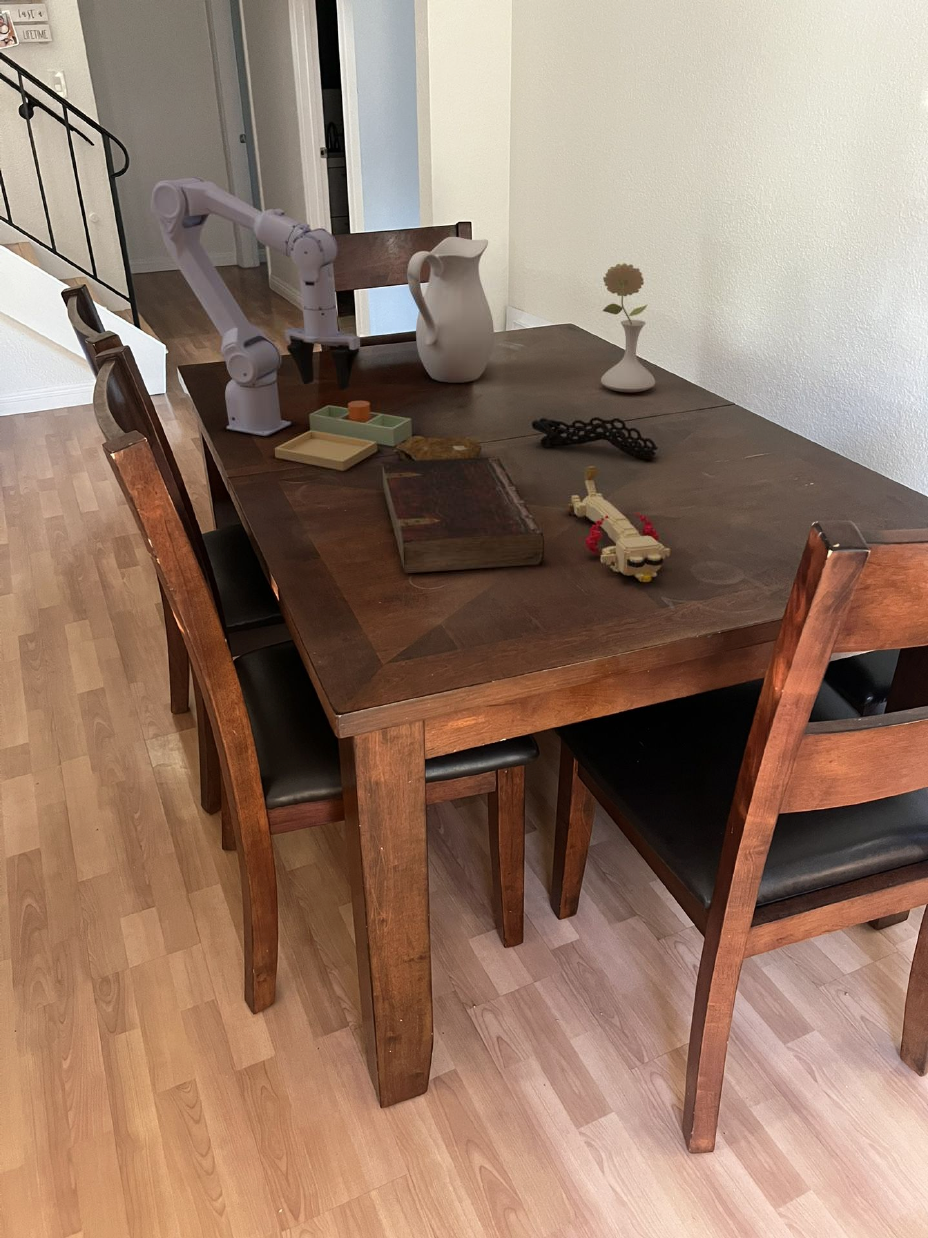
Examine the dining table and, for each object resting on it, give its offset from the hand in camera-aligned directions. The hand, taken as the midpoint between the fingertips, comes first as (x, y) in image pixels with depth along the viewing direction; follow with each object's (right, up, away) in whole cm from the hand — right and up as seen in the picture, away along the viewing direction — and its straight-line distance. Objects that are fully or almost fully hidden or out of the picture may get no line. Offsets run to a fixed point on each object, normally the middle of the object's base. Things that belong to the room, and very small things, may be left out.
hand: (325, 385), depth 161 cm
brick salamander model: (+46, -32, -36) cm, 66 cm away
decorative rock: (+20, -15, -7) cm, 26 cm away
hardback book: (+24, -28, -29) cm, 47 cm away
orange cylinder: (+6, -7, +5) cm, 10 cm away
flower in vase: (+59, +7, +30) cm, 66 cm away
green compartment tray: (+6, -8, +6) cm, 11 cm away
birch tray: (+1, -13, -4) cm, 14 cm away
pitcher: (+21, +10, +36) cm, 43 cm away
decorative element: (+47, -12, -2) cm, 49 cm away
